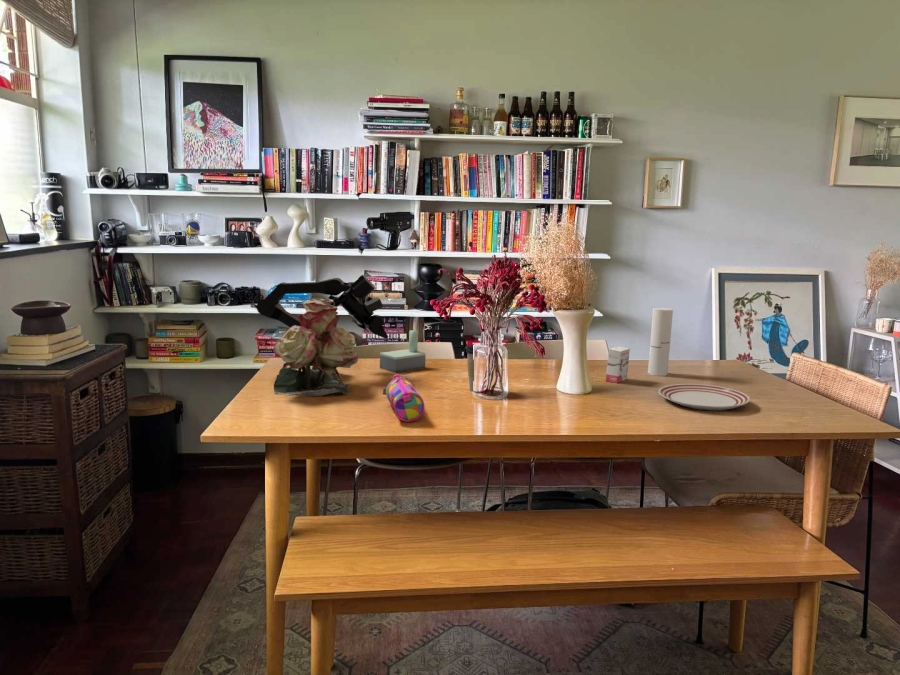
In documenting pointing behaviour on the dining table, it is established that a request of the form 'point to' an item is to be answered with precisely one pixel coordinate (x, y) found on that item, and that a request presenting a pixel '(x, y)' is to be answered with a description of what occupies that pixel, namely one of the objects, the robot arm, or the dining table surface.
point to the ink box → (617, 364)
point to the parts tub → (402, 363)
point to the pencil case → (404, 399)
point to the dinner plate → (704, 396)
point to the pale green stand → (408, 352)
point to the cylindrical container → (660, 341)
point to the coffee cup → (470, 365)
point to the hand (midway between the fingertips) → (382, 335)
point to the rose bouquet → (314, 352)
